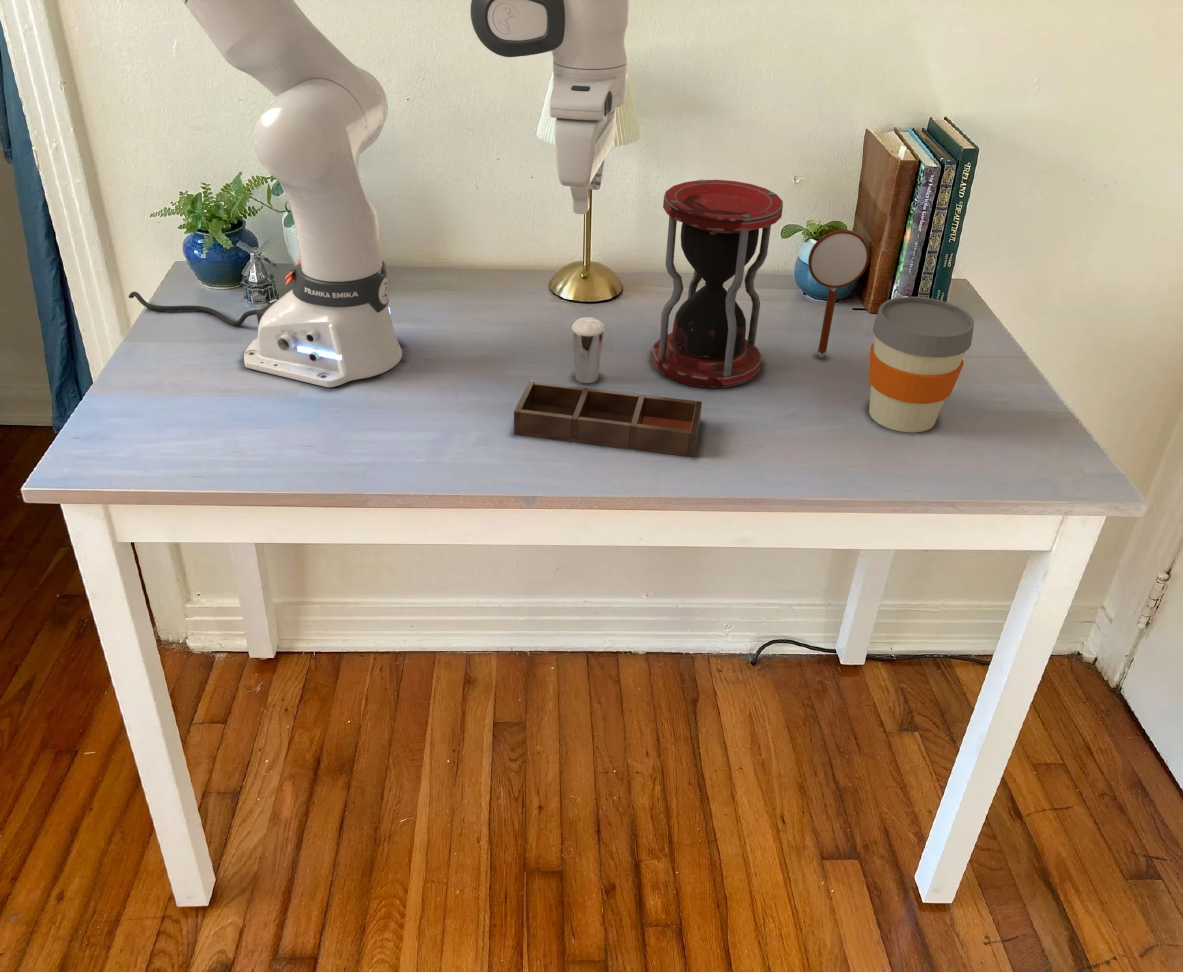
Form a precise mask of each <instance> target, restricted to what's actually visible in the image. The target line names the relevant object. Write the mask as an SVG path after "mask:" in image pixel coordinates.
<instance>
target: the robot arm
mask: <svg viewBox="0 0 1183 972" xmlns="http://www.w3.org/2000/svg"><path fill="white" fill-rule="evenodd" d="M181 1H182V2H183V4H184V5H185V6H186V8H187V9H188V10H189V12H190V13H191V15H192V16H193V17H194V18H195V20H196V22H197V23H198V24H199V26H200V27H201V28H202V29H203V31H204V32H205V34H206V35H207V36H208V38H209V39H210V41H211V42H212V43H213V45H214V46H215V47H216V49H217V50H218V51H219V53H220V54H221V55H222V57H223V58H224V60H225V62H227V63H228V64H229V65H231V67H233V68H235V69H236V70H238V71H241V72H243V73H245V74H247V75H248V76H251V77H252V78H253V79H254V80H256V81H257V82H259V83H260V84H261V85H262V86H263V87H264V88H265V89H266V90H268V91H269V92H270V93H271V94H272V95H273V96H274V98H273V99H272V100H271V101H270V102H269V104H268V105H267V106H266V108H265V109H264V110H263V112H262V113H261V115H260V117H258V120H257V121H256V124H255V126H254V130H253V146H254V151H255V154H256V156H257V159H258V161H259V162H260V164H261V165H262V167H263V168H264V169H265V170H266V172H267V173H269V174H270V176H272V177H273V178H274V179H276V180H277V181H278V183H279V184H280V186H281V188H282V189H281V190H282V191H283V193H284V196H285V198H286V200H287V203H288V205H289V209H290V211H291V214H292V220H293V222H294V224H293V225H294V229H295V230H294V231H295V236H296V243H297V249H298V254H299V256H298V257H299V258H298V260H297V264H296V265H294V266H293V267H292V268H291V269H290V272H289V273H288V274H287V275H286V276H285V278H284V280H285V281H286V282H285V286H289V285H290V284H292V289H291V290H289V291H288V292H287V293H285V294H284V295H283V296H281V297H280V298H279V299H277V300H275V301H273V302H271V303H269V304H267V305H265V306H264V307H262V308H260V309H252V310H251V309H250V310H248V311H245V312H244V313H242V314H241V316H240V317H239V319H238V320H232V319H229V318H228V317H226V316H225V315H223V314H222V313H221V312H219V311H218V310H216V309H213V308H211V307H208V306H203V305H202V306H201V305H157V304H151V303H149V302H147V301H146V300H145V299H144V298H143V297H142V295H141V294H140V293H139V292H138V291H131V292H130V293H129V295H128V298H129V299H134V298H136V300H137V301H138V302H139V304H141V305H142V306H144V307H145V308H147V309H150V310H154V311H160V312H161V311H163V312H177V311H179V312H180V311H197V312H198V311H199V312H205V313H209V314H211V315H214V316H215V317H217V318H218V319H220V320H221V321H222V322H224V323H226V324H228V325H230V326H235V327H236V326H237V327H238V326H240V325H242V324H243V323H244V322H245V321H246V319H247V318H248V317H250V316H254V315H255V316H256V318H257V319H256V320H257V324H258V325H257V337H255V338H254V339H253V340H252V341H251V342H250V344H249V345H248V346H247V348H246V349H245V351H244V354H243V361H244V362H243V363H244V367H245V368H247V369H251V370H254V371H258V372H263V373H266V374H270V375H275V376H278V377H282V378H287V379H291V380H295V381H299V382H304V383H308V384H312V385H315V386H320V387H324V388H335V387H338V386H341V385H344V384H346V383H348V382H352V381H357V380H362V379H363V380H364V379H369V378H372V377H375V376H378V375H381V374H383V373H385V372H388V371H389V370H391V369H393V368H394V367H396V366H397V365H398V364H399V363H400V361H401V360H402V357H403V350H402V348H401V346H400V344H399V340H398V338H397V334H396V332H395V328H394V325H393V321H392V317H391V308H390V307H389V301H390V286H389V285H390V284H389V279H388V273H387V266H386V265H387V264H386V263H385V261H384V260H383V255H382V244H381V233H380V232H381V231H380V222H379V213H378V209H377V207H376V205H374V203H373V202H372V201H371V200H370V199H369V198H368V196H367V194H366V191H365V188H364V185H363V182H362V178H361V175H360V170H359V161H360V155H361V154H362V153H363V152H365V151H366V150H367V149H368V148H370V147H371V146H372V145H374V143H375V142H376V141H377V139H378V138H379V137H380V135H381V133H382V130H383V129H384V126H385V123H386V121H387V117H388V113H389V101H388V98H387V94H386V92H385V89H384V88H383V86H382V84H381V83H380V82H379V80H378V79H377V78H376V77H375V76H374V75H373V74H371V72H369V71H367V70H366V69H363V68H361V67H359V66H357V65H356V64H354V63H353V62H352V61H351V60H350V59H349V58H347V56H346V55H344V53H342V52H341V50H340V49H338V47H336V46H335V45H334V43H332V42H331V41H330V40H329V39H328V38H327V37H326V36H325V35H324V34H323V33H322V31H320V30H319V28H317V27H316V26H315V25H314V23H313V22H312V21H311V20H310V19H309V18H308V16H307V15H306V14H305V13H304V12H303V10H302V9H301V8H300V7H299V5H298V4H297V3H296V1H295V0H181ZM629 6H630V5H629V0H471V2H470V13H469V14H470V20H471V24H472V28H473V30H474V33H475V35H476V37H477V38H478V40H479V41H480V42H481V44H482V45H483V46H484V47H485V48H486V49H487V50H489V51H490V52H491V53H494V54H496V55H498V56H501V57H504V58H523V57H528V56H533V55H540V54H545V53H550V54H551V55H552V92H551V95H550V99H549V116H550V118H553V119H555V120H554V144H555V145H554V147H555V159H556V171H557V172H556V173H557V177H558V180H559V183H560V185H562V186H563V187H570V193H571V196H572V210H573V213H574V214H576V215H586V214H587V213H588V211H589V209H590V196H589V190H592V191H599V190H600V189H601V188H602V186H603V183H604V181H603V180H604V179H603V178H604V170H605V164H606V157H607V155H608V154H609V152H610V150H611V149H612V147H613V145H614V143H615V139H616V130H617V129H616V128H617V127H616V113H617V112H616V109H617V108H620V107H622V106H623V105H625V104H626V101H627V74H628V73H627V72H628V70H627V69H628V64H627V63H628V57H627V51H626V48H625V47H626V46H625V37H626V32H627V29H628V25H629V10H630V9H629V8H630V7H629Z"/></svg>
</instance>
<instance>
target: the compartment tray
mask: <svg viewBox="0 0 1183 972" xmlns="http://www.w3.org/2000/svg"><path fill="white" fill-rule="evenodd" d="M702 407H703V401H700V400H692V399H683V398H676V397H675V398H674V397H666V396H659V395H658V396H657V395H651V394H650V395H649V394H641V393H635V392H634V393H633V392H624V391H616V390H608V389H600V388H591V387H582V386H573V385H567V384H558V383H549V382H541V381H532V380H529V381H528V383H527V384H526V386H525V389H524V391H523V393H522V395H521V397H520V398H519V401H518V402H517V405H516V407H515V408H514V410H513V434H514V435H515V436H523V437H533V438H541V439H547V440H554V441H555V440H557V441H563V442H570V443H579V444H587V445H593V446H604V447H610V448H618V449H627V450H635V451H641V452H650V453H658V454H666V455H674V456H683V457H688V458H689V457H691V458H694V456H695V452H696V448H697V447H696V446H697V440H698V435H699V431H700V425H701V417H702V409H703V408H702Z"/></svg>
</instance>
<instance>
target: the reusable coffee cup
mask: <svg viewBox="0 0 1183 972" xmlns="http://www.w3.org/2000/svg"><path fill="white" fill-rule="evenodd" d="M974 328H975V320H974V318H973V316H971V314H970V313H969V312H967V311H966V310H965V309H963V308H961V307H960V306H958V305H955V304H952V303H951V302H948V301H947V302H946V301H944V300H940V299H936V298H931V297H925V296H924V297H923V296H901V297H894V298H890V299H888V300H885V301H884V302H882V303H881V304H880V306H879V308H878V311H877V313H876V316H875V320H874V323H873V327H872V332H873V334H874V336H873V337H874V338H873V339H874V340H873V343H872V344H871V345H870V348H869V349H870V350H869V351H870V353H869V361H868V362H869V363H868V376H867V377H868V382H869V384H870V393H869V406H868V407H869V409H868V413H869V415H870V418H871V419H872V420H873V421H875V422H876V423H877V424H878V425H880V426H883V427H885V428H887V429H889V430H893V431H896V432H902V433H922V432H925V431H928V430H930V429H932V428H933V427H934V426H935V424H936V422H937V419H938V417H939V415H940V412H941V410H942V408H943V406H944V403H945V401H946V400H947V399H948V398H949V397H950V396H951V395H952V393H953V390H954V388H955V386H956V383H957V381H958V379H959V377H960V374H961V371H962V369H963V367H964V363H965V361H964V359H963V358H964V356H965V354H966V352H967V351H968V350H970V348H971V346H972V342H973V335H974Z"/></svg>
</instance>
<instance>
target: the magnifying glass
mask: <svg viewBox="0 0 1183 972" xmlns="http://www.w3.org/2000/svg"><path fill="white" fill-rule="evenodd" d="M807 260H808V261H807V262H808V263H807V264H808V265H807V266H808V270H809V273H810V275H811V277H812V278H813V279H814V280H815V282H817V283H818V284H819V285H821V286H823V287H826V288H829V289H828V294H827V297H826V298H827V299H826V304H825V310H824V316H823V321H822V327H821V332H820V338H819V343H818V351H817V352H818V353H819V354H818V356H819V358H823V357H825V353H827V350H828V344H829V338H830V332H831V327H832V322H833V316H834V311H835V305H836V300H837V294H838V290H837V289H839V288H844V287H847V286H850V285H851V284H853V283H855V282H857V280H858V279H859V278H861V276H862V275H863V274H864V273H865V271H866V269H867V267H868V266H869V261H870V249H869V246H868V243H867V242H866V240H865V239H864V237H862V235H860V234H859V233H857V232H856V231H853V230H849V229H836V230H832V231H830V232H827V233H825V234H824V235H823V236H821V237H819V239H818V240H817V241H816V242H815V243H814V245H813V246H812V248H811V249H810V251H809V255H808V259H807Z"/></svg>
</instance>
